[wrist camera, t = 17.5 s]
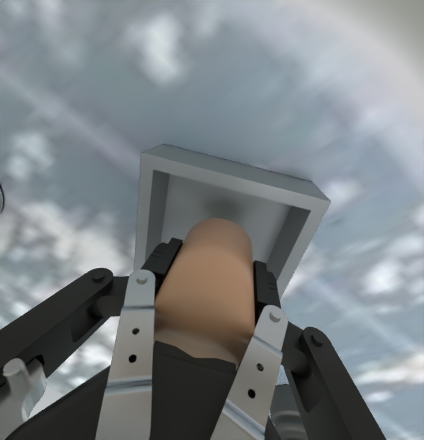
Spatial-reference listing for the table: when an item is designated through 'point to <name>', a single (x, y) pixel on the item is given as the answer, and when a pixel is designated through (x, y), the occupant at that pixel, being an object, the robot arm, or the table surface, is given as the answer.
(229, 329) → the tan cylinder
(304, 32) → the table surface
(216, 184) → the grey tote
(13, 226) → the table surface
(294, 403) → the candle holder
